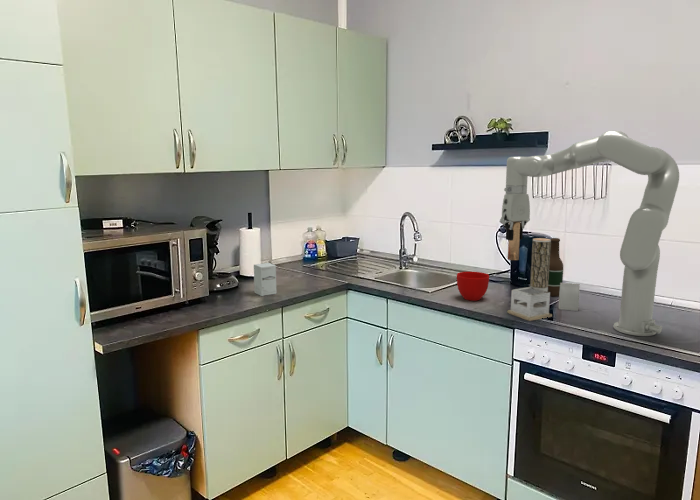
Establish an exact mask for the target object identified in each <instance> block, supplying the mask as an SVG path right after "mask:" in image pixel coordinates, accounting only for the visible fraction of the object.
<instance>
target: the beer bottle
mask: <svg viewBox="0 0 700 500" xmlns="http://www.w3.org/2000/svg"><path fill="white" fill-rule="evenodd" d="M560 242H561V239H560V238H559V237H552V238H551V248H550V263H549V279H548V292H550V297H553V298H554V297H557V298H558V297H559V291H560V283H564V282H563V280H564V279H563V277H564V263H563V261H562V259H561V258H560Z"/></svg>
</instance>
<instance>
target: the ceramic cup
mask: <svg viewBox="0 0 700 500" xmlns="http://www.w3.org/2000/svg"><path fill="white" fill-rule="evenodd" d="M489 283H490V275H489V274H488V273H485V272H481V271H460V272H458V273H456V284H457V285H456V286H457V289H458V292H459V293H460V295H461V296H462V298H463V299H464V300H466V301H475V302H476V301H479V300H481V299H482V298H483V297H484V296H485V294H486V293H487V290H488V287H489Z"/></svg>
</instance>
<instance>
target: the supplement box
mask: <svg viewBox="0 0 700 500" xmlns="http://www.w3.org/2000/svg"><path fill="white" fill-rule="evenodd" d="M253 281H254V282H253V283H254V284H253V286H254V288H253V289H254V290H253V291H254V293H255V294H256V295H257V296H259V297H264V296H270V295H276V294H278V293H277V265H276V264H273V263H270V262H266V263H257V264H253Z"/></svg>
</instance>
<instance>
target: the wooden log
mask: <svg viewBox="0 0 700 500" xmlns="http://www.w3.org/2000/svg"><path fill="white" fill-rule="evenodd" d="M551 239H552V238H551ZM551 239H550V238H544V237H539V238H538V237H537V238H532V247H531V266H530V282H529V287H533V288H536V289H540V290H543V291H547V292H548V279H549V263H550V248H551Z"/></svg>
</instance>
